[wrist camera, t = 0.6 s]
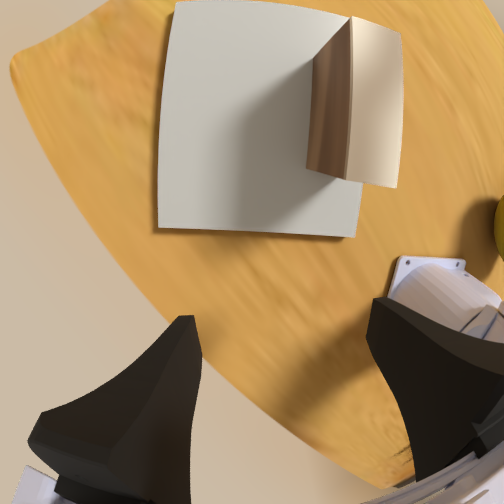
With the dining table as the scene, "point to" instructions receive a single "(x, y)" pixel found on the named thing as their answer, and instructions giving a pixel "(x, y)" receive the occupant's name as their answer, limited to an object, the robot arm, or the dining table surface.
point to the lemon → (499, 227)
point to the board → (246, 122)
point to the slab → (357, 105)
